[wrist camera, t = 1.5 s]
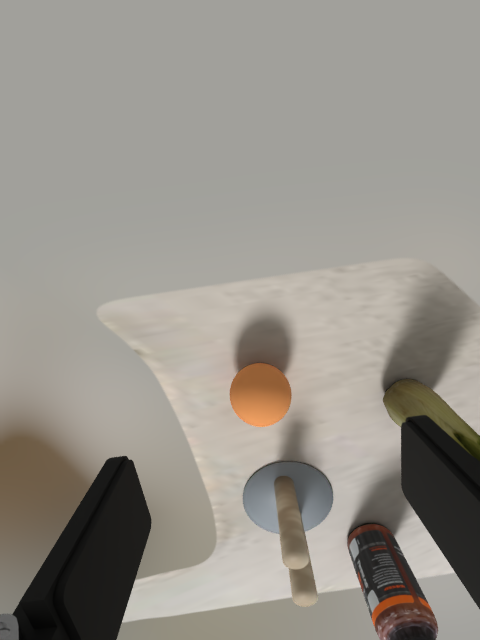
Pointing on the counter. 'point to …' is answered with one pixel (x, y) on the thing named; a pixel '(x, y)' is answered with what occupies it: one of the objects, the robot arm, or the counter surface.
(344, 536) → the counter surface
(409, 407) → the fennel bulb
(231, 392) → the ball
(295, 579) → the back pin
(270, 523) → the light blue plate
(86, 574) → the robot arm
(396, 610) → the supplement bottle
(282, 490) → the front pin
